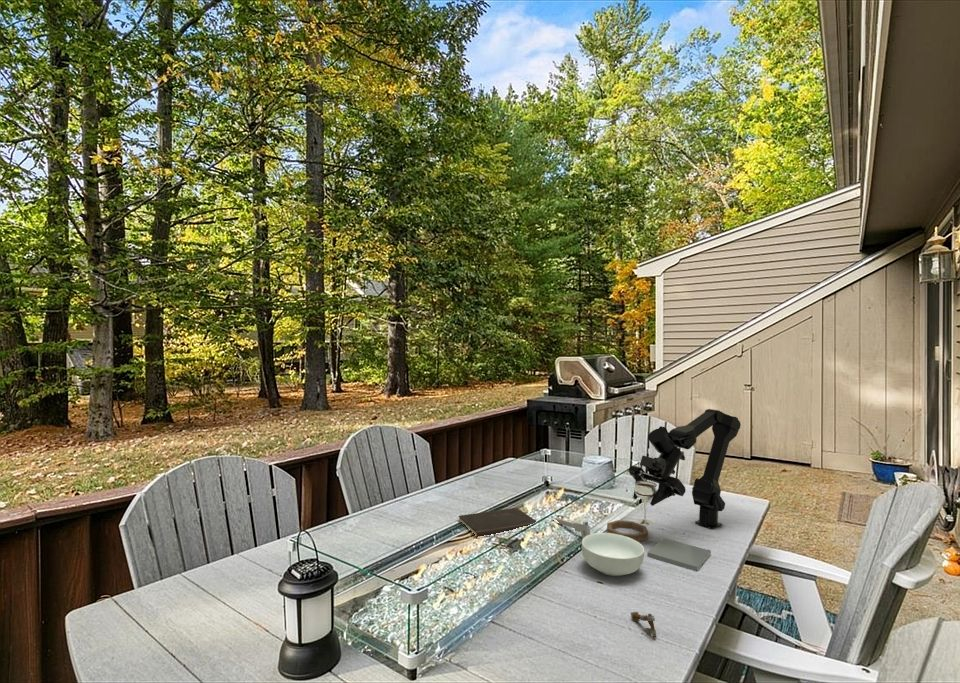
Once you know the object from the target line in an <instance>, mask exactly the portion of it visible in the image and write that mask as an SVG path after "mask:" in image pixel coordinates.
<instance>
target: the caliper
mask: <svg viewBox="0 0 960 683" xmlns="http://www.w3.org/2000/svg"><path fill="white" fill-rule="evenodd" d="M553 519H556V520H557V521H558V522H559V523H560V524H559V525H561V524H562V525H563V526H566V527H568V528H571V529H574V532H577V533H580V534H581V538H582V539H583V538H584V537H585V536H587V535H590V534H591V529H590V525H589V522H588V521H585V520H583V521H582V522H577V521H575V522H573V521H570V520H565V519H562V518H558V517H553Z"/></svg>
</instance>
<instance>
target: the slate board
mask: <svg viewBox="0 0 960 683" xmlns="http://www.w3.org/2000/svg"><path fill="white" fill-rule="evenodd" d="M710 554H711V555H712V550H710V549H707V548H702V547H699V546H696V545H691V544H688V543H684V542H679V541H676V540H673V539H669V538H665V537H663V538H661V540H659V542H657V543H656V544H655V545H654V546H653V547H652V548H650V549H649V550H648V551H647V554H646V556H647V557H648V558H651V559H655V560H657V561H661V562H664V563H669V564H671V565H675V566H678V567H682V568H684V567H685V569H688V568H689V570H691V569H693V570H692V571H695V570H698V569H699V568H701V567H702V566H703V565H702V564H703V563H704V564H705V563H706V561H707V560H708V559H709V558H710V556H711V555H710ZM707 558H708V559H707ZM706 559H707V560H706ZM705 560H706V561H705ZM701 565H702V566H701ZM699 570H700V569H699ZM699 570H698V571H699Z"/></svg>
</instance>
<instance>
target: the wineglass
mask: <svg viewBox="0 0 960 683" xmlns="http://www.w3.org/2000/svg"><path fill="white" fill-rule="evenodd" d="M635 485H636V486H635ZM657 486H658V483H656V482H653V481H649V480H647V481H636V482H635V481H634V490H633V492H634V491H635V494H636V495H637V496H638V499H640V500H641V501H642V502H643V506H644V507H643V508H644V509H643V510H644V512H643V514H644V518H639V519H637V520H636V523H638V524H641V525H643V526H652V525H653V524H654V521H652V520H651V519H647V504H648V502H649V501H651V500H652V498H653V497H654V495H655V493H656V492H657V490H658V488H657Z"/></svg>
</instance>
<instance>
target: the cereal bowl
mask: <svg viewBox="0 0 960 683" xmlns="http://www.w3.org/2000/svg"><path fill="white" fill-rule="evenodd" d="M581 553H582V557H583V558H584V560H585V561H586V563H587V565H589V566H590V567H592V568H593V569H595V570H596V571H599V572H601V573H602V574H604V575H606V576H607V575H608V576H612V577H620V576H624V575H629V574H632V573H634V572H637V571H638V570H639V569H640V568H641V566H642V565H643V562H644V558H645V548H644V546H643V544H641V542H637V541H635V540H633V539H631V538H629V537H626V536H622V535H618V534H612V533H608V532H596V533H590V535H587V536H585V537H584V538H582V540H581Z"/></svg>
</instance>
